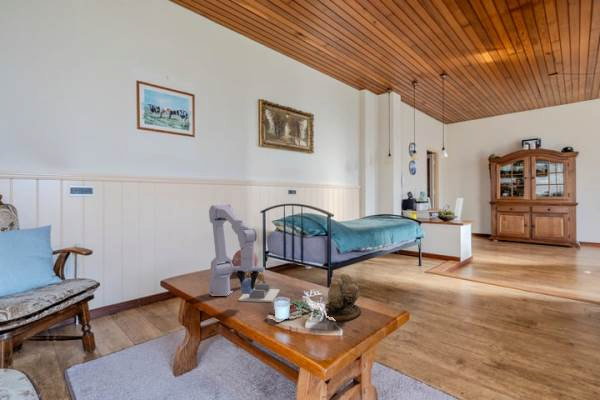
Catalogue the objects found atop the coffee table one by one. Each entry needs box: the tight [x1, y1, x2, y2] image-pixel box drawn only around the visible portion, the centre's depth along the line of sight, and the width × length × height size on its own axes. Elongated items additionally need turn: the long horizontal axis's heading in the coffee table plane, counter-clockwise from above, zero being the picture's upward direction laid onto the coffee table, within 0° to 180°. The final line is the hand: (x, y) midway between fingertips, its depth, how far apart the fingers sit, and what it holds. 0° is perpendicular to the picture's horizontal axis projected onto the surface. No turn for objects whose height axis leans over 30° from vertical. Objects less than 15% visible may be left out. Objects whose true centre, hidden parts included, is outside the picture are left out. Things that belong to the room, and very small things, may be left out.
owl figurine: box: [324, 272, 362, 323], centre depth 122 cm, size 18×12×17 cm, turn 131°
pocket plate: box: [238, 283, 280, 303], centre depth 146 cm, size 16×16×4 cm
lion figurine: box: [245, 272, 267, 284], centre depth 162 cm, size 15×5×9 cm, turn 123°
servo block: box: [239, 278, 254, 295], centre depth 131 cm, size 4×12×5 cm, turn 172°
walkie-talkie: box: [268, 303, 303, 316], centre depth 123 cm, size 9×4×20 cm
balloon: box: [231, 248, 258, 266], centre depth 185 cm, size 15×20×15 cm
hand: (248, 288), depth 131 cm, fingers closed on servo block, 4 cm apart
